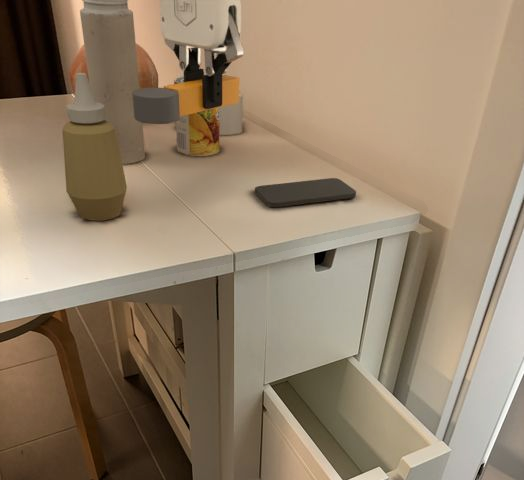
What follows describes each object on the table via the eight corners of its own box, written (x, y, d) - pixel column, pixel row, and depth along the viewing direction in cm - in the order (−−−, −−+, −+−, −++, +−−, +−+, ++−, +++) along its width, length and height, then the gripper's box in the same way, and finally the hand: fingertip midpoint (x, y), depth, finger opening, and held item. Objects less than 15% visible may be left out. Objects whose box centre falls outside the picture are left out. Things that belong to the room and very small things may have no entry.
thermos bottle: (89, 158, 97) (61, -36, 80) (118, 147, 103) (97, -36, 86) (126, 167, 94) (105, -33, 78) (154, 154, 100) (139, -33, 83)
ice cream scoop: (155, 126, 66) (153, 98, 64) (125, 117, 69) (122, 89, 67) (247, 104, 77) (247, 79, 75) (217, 97, 80) (217, 73, 78)
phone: (252, 186, 87) (337, 177, 92) (252, 191, 87) (336, 182, 92) (270, 203, 81) (359, 193, 86) (269, 209, 82) (358, 198, 87)
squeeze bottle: (67, 205, 80) (44, 68, 69) (124, 200, 82) (109, 66, 72) (73, 228, 74) (48, 81, 63) (134, 221, 77) (120, 79, 66)
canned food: (228, 151, 104) (228, 81, 96) (194, 159, 99) (192, 86, 92) (202, 141, 108) (200, 73, 101) (169, 148, 104) (164, 78, 97)
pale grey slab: (244, 134, 113) (245, 88, 108) (180, 135, 111) (177, 88, 105) (236, 121, 121) (237, 77, 116) (176, 121, 119) (174, 77, 114)
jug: (70, 107, 124) (53, 3, 113) (149, 103, 130) (141, 3, 119) (82, 129, 111) (65, 13, 99) (170, 123, 117) (163, 13, 105)
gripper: (128, -71, 65) (141, 98, 76) (231, -66, 57) (229, 122, 68) (175, -68, 70) (181, 90, 81) (276, -63, 62) (267, 111, 73)
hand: (203, 103), depth 74 cm, fingers closed on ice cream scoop, 2 cm apart
